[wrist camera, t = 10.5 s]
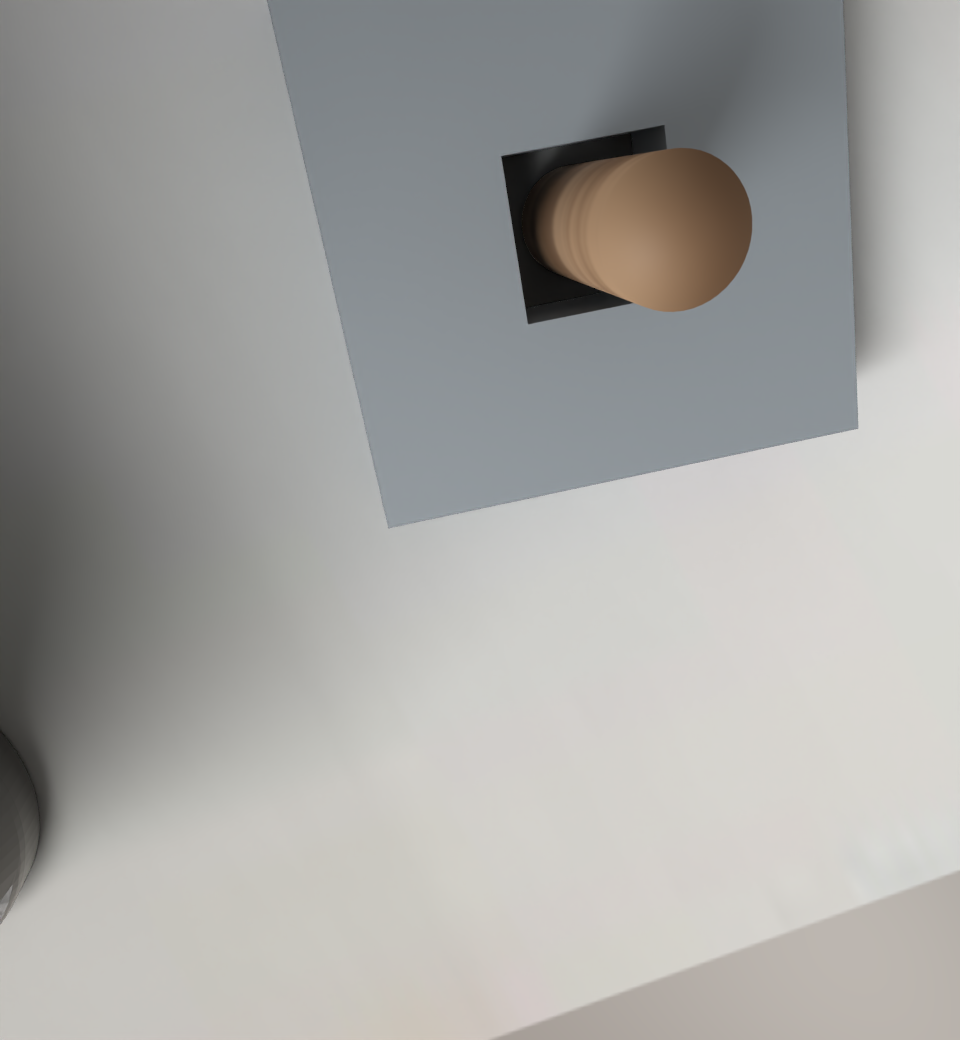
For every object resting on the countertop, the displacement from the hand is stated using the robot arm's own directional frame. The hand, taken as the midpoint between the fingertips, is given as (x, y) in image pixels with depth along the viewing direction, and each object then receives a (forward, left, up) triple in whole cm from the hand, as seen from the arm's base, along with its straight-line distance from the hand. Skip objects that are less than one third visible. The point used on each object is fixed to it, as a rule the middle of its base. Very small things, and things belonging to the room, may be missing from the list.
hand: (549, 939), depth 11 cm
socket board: (+7, +6, -27) cm, 29 cm away
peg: (+7, +7, -27) cm, 29 cm away
